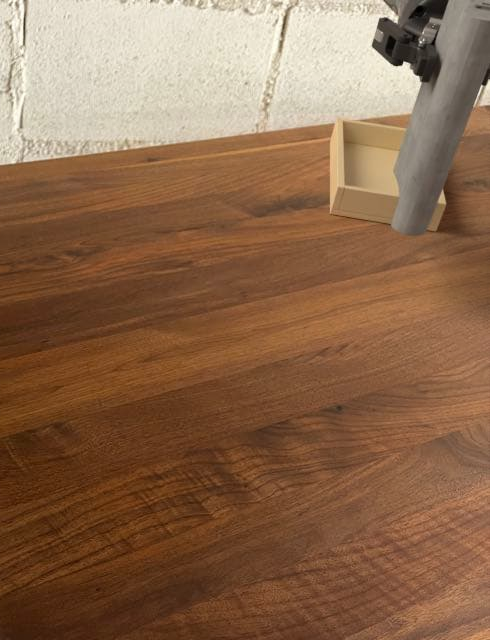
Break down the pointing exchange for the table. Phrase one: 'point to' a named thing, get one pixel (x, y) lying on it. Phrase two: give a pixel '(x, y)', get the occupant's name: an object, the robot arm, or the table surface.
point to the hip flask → (441, 113)
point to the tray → (368, 172)
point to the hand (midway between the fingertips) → (454, 74)
